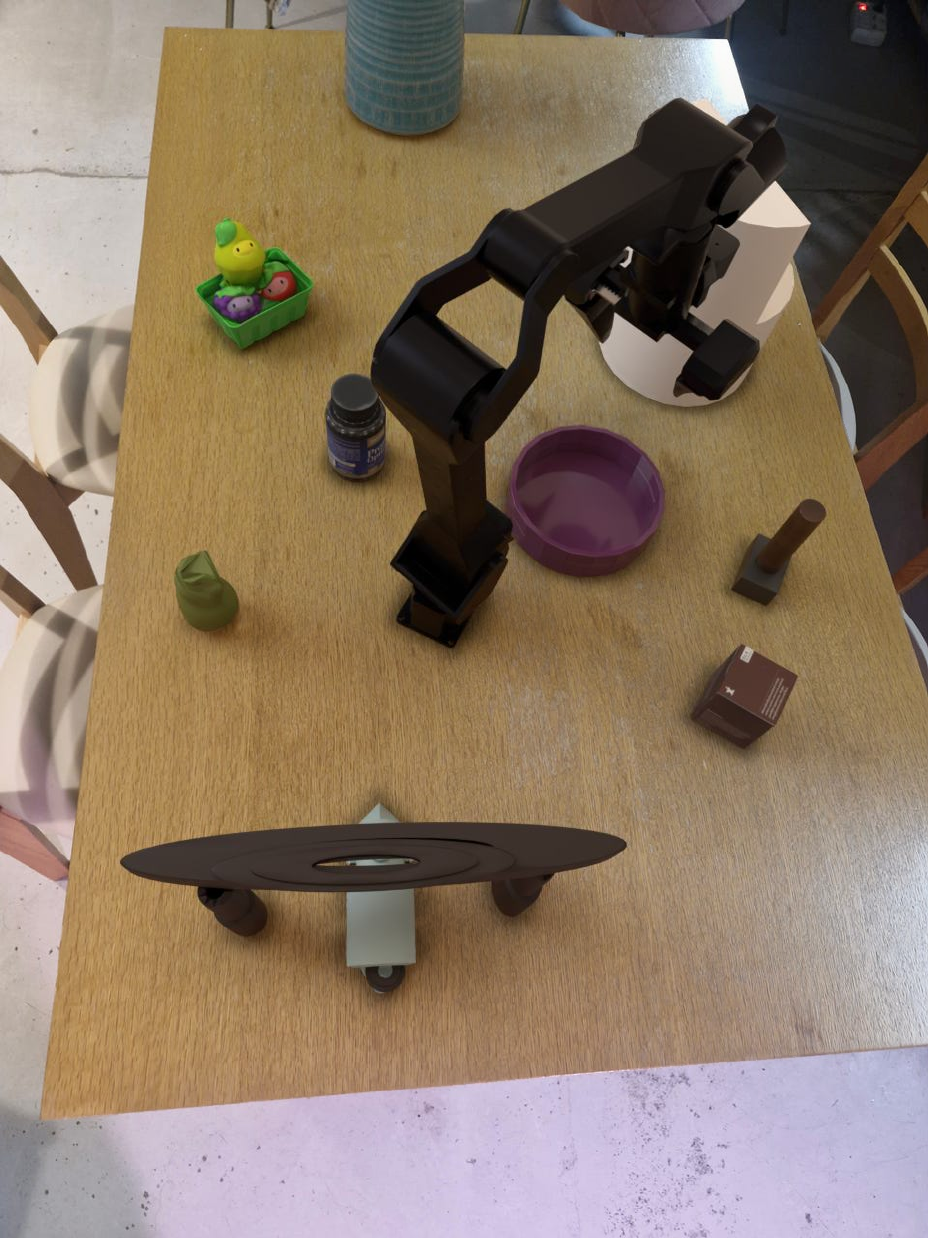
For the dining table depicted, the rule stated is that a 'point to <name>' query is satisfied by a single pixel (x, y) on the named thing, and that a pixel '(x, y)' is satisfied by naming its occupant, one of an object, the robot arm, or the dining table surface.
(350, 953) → the round plant dolly
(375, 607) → the dining table surface
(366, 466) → the pill bottle
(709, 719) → the box
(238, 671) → the dining table surface
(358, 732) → the dining table surface
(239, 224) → the fruit basket
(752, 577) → the hammer
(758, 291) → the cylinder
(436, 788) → the dining table surface
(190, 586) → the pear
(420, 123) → the vase
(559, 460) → the bowl
